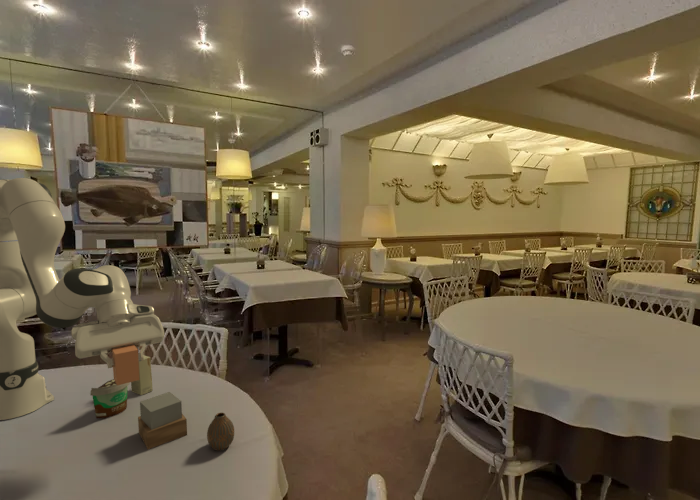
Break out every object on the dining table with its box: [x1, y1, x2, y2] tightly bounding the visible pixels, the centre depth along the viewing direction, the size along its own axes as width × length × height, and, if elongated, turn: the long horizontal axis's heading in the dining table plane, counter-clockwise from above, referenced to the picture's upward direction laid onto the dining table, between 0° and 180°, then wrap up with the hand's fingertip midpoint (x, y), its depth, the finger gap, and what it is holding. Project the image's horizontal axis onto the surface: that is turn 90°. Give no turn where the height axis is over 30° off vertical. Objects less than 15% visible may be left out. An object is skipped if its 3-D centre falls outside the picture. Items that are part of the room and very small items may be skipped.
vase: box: [206, 412, 235, 451], centre depth 101 cm, size 7×7×9 cm
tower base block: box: [137, 413, 188, 450], centre depth 107 cm, size 10×10×5 cm
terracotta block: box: [111, 345, 140, 385], centre depth 97 cm, size 5×5×8 cm
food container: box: [89, 378, 131, 419], centre depth 118 cm, size 12×6×10 cm, turn 168°
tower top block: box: [139, 391, 183, 430], centre depth 106 cm, size 8×8×5 cm
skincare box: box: [130, 354, 153, 396], centre depth 131 cm, size 6×4×12 cm
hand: (126, 363), depth 97 cm, fingers closed on terracotta block, 5 cm apart
